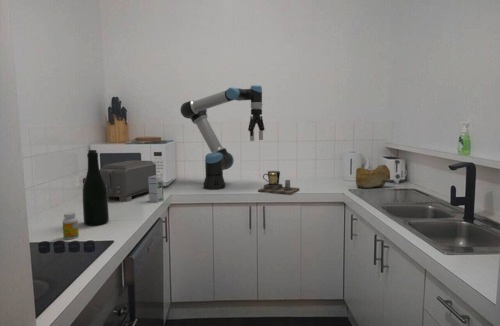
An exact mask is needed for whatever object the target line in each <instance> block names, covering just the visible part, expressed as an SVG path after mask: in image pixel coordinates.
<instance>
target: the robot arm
mask: <svg viewBox="0 0 500 326" xmlns="http://www.w3.org/2000/svg"><path fill="white" fill-rule="evenodd" d="M232 101H239V102H241V101H250V119H249V123H248V124H249V125H248V128H247V130H248V132H249V142H255V128H256V125H257V127H258V129H259V130H258V140H259V141H263V140H264V131H265V125H264V120H263V87H262V85H258V84H255V85H250V88H240V87H239V88H238V87H234V86H232V87H228V89H226V90H223V91H221V92H218V93H213V94H212V95H208V96H206V97H203V98H200V99H197V100H193V99H192V100H188V101H186V102H183V103H182V104H181V107H180V114H181V115H182V117H183V118H185V119H190V120H191V122H192V123H193V124H194V125H196V127H197V129H198V130H199V133H200V134H201V136H202V137H203V139H204V141H205V142H206V145H207V147H208V148H209V150H210V152H209V153H207V154H206V155H205V156H204V157H205V159H204V162H205V163H204V164H205V166H204V167H205V178H204V181H203V184H202V187H203V189H205V190H222V189H225V188H226V181H225V178H224V170H228V169H230V168H231V167H232V166H233V165H234V162H235V161H234V160H235V159H234V156H233V154H231V153H229V152H228V151H227V148H225V147H223V146H222V143H221V141H220V140H219V139H218V136H217V134H216V133H215V131H214V130H213V128H212V126H211V124H210V121H208V114H207V112H208V110H207V109H210V108H211V109H212V108H214V107H217V106H220V105H223V104H226V103H230V102H232Z"/></svg>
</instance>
